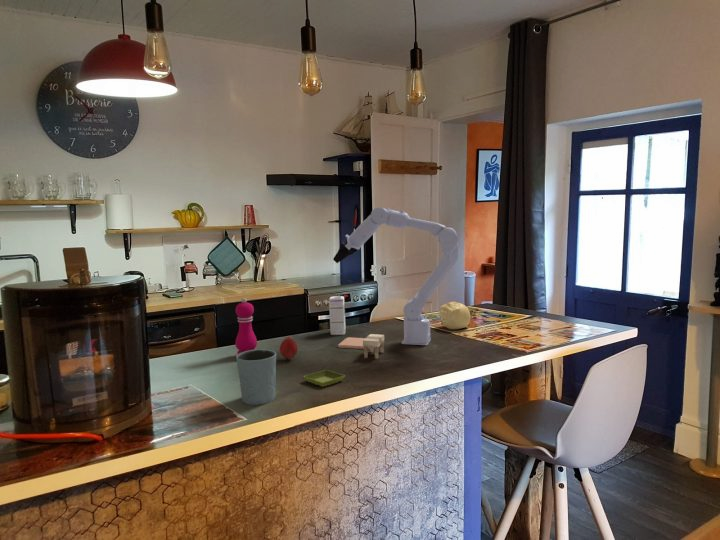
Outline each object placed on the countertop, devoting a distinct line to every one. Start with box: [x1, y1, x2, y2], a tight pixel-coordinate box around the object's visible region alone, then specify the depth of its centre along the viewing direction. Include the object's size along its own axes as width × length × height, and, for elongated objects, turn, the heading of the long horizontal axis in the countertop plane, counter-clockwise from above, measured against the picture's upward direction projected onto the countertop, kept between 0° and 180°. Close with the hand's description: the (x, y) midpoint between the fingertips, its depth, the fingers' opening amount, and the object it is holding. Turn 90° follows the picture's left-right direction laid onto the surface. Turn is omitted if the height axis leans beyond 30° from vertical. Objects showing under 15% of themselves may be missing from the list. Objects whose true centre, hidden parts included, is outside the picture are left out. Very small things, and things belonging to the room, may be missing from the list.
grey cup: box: [235, 348, 277, 406], centre depth 135 cm, size 10×10×12 cm
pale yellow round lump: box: [439, 301, 471, 330], centre depth 210 cm, size 11×12×11 cm
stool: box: [363, 333, 385, 360], centre depth 174 cm, size 9×5×6 cm, turn 164°
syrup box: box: [328, 295, 347, 336], centre depth 205 cm, size 6×6×14 cm
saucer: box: [303, 369, 346, 388], centre depth 148 cm, size 9×9×2 cm
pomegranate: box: [279, 335, 299, 361], centre depth 171 cm, size 6×6×8 cm
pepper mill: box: [235, 297, 258, 356], centre depth 175 cm, size 7×7×20 cm
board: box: [337, 337, 380, 351], centre depth 188 cm, size 14×11×1 cm
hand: (337, 259), depth 192 cm, fingers open, 7 cm apart
